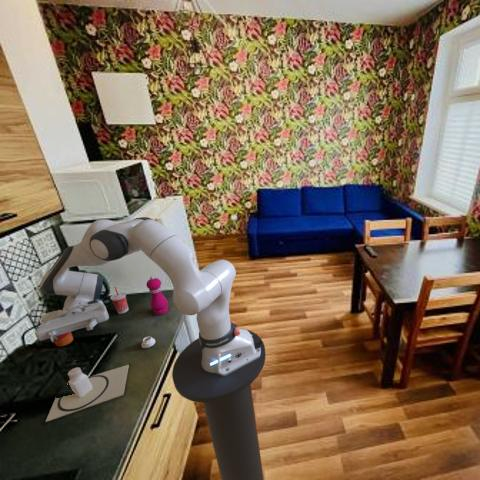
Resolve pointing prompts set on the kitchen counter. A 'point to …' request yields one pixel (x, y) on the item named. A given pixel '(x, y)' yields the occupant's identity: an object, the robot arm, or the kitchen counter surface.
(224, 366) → the robot arm
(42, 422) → the kitchen counter surface
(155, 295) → the pepper mill
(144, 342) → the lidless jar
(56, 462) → the kitchen counter surface
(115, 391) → the drawing sheet
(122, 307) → the beverage cup
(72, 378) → the pepper shaker
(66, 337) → the paper cup
